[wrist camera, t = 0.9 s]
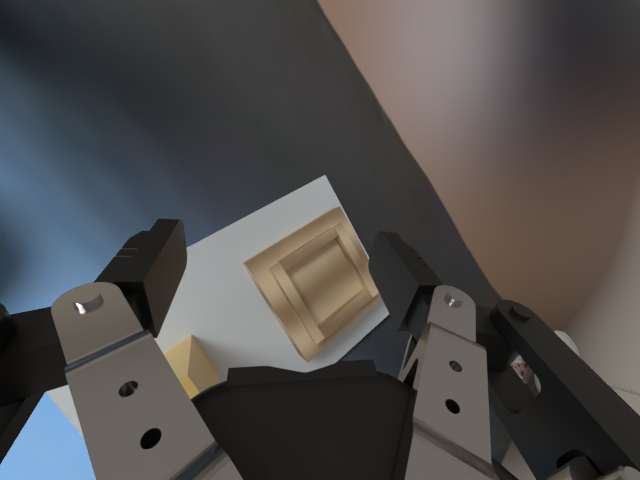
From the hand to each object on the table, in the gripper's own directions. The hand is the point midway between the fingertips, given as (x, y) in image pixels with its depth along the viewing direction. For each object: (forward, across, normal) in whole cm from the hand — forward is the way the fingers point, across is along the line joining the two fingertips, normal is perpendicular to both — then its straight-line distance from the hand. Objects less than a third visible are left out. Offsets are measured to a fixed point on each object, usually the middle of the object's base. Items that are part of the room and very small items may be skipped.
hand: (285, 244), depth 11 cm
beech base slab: (+14, -5, +14) cm, 20 cm away
